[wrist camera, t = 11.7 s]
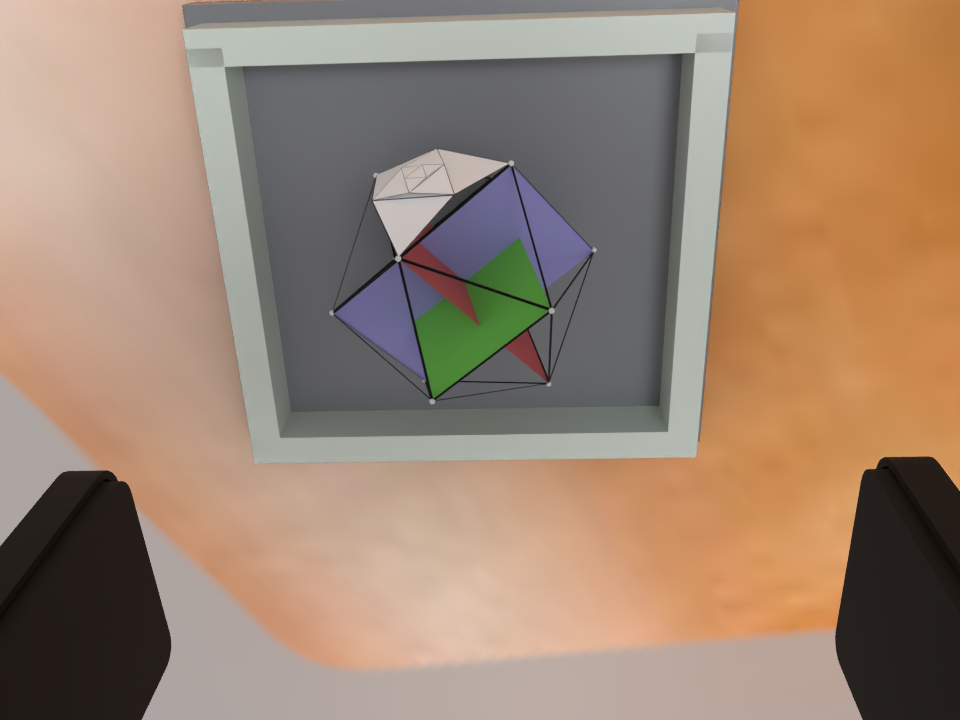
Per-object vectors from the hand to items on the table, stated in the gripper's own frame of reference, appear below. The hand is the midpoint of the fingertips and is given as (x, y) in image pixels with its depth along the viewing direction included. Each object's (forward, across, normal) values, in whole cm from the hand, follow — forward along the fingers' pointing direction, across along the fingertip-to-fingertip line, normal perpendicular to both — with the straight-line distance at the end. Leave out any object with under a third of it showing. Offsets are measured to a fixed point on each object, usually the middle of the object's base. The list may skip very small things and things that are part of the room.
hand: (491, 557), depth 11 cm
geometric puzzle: (+18, +2, +2) cm, 19 cm away
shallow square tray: (+19, +2, +2) cm, 19 cm away
